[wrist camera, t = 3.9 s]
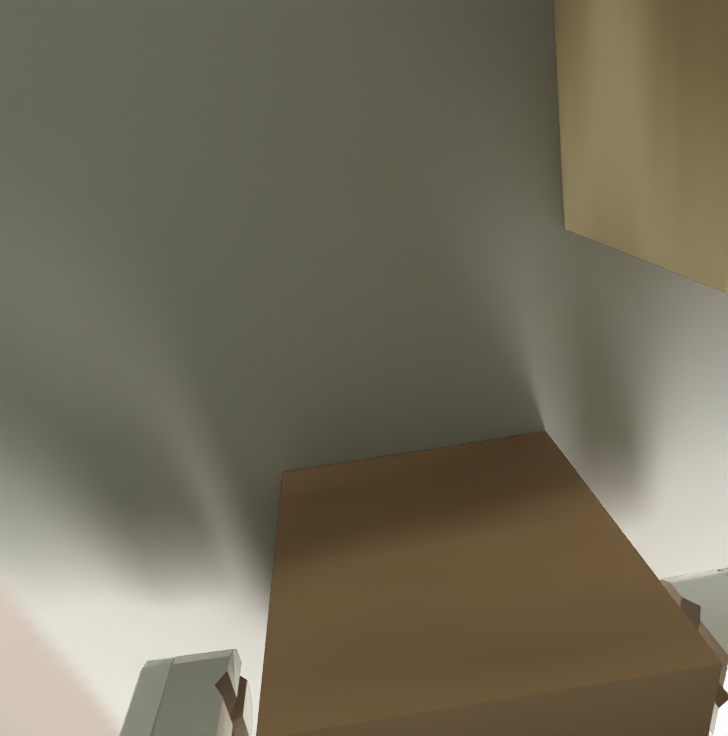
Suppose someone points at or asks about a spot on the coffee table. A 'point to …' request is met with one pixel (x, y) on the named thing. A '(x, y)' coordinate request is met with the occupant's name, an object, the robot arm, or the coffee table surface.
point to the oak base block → (647, 129)
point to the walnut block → (471, 605)
